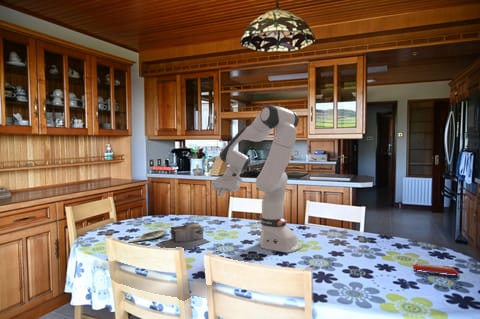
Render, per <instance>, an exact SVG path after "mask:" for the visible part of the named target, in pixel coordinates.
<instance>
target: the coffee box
mask: <svg viewBox="0 0 480 319" xmlns="http://www.w3.org/2000/svg"><path fill="white" fill-rule="evenodd" d="M170 233H171V236H170V237H171V240H173V241H174V242H181V241H188V240H195V239H204V226H202V225H200V223H194V224H185V225H178V226H177V225H176V226H171V227H170Z"/></svg>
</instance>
